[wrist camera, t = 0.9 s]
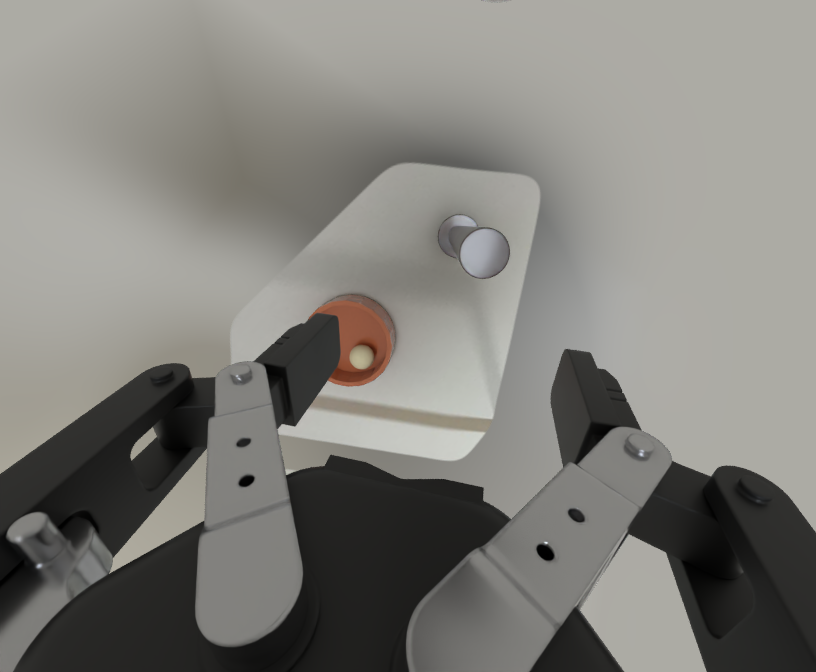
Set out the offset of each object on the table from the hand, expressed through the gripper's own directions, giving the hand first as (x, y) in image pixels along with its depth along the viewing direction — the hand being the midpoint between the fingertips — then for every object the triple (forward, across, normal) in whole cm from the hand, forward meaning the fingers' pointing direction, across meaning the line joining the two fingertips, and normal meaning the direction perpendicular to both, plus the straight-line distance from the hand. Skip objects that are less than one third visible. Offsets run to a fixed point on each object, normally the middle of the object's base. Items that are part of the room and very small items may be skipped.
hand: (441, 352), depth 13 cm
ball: (+26, +12, +19) cm, 34 cm away
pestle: (+32, +2, +4) cm, 33 cm away
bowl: (+28, +14, +17) cm, 36 cm away
